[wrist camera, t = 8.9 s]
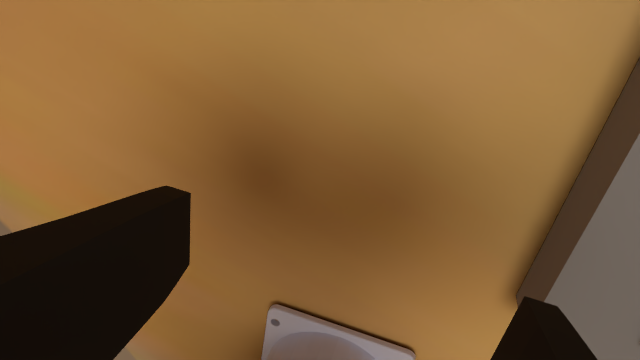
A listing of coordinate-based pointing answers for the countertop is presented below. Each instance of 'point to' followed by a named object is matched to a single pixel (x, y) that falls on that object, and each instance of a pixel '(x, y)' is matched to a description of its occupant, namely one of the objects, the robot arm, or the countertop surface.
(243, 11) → the countertop surface
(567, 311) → the frame
